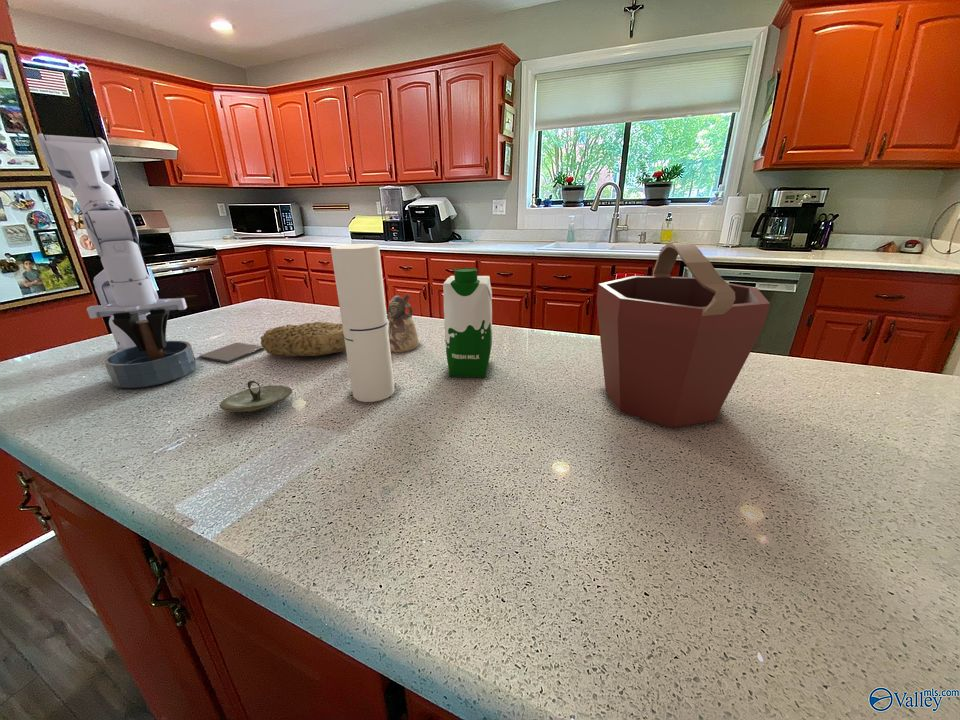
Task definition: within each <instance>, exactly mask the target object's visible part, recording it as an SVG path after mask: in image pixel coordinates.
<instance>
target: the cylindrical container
mask: <svg viewBox="0 0 960 720" xmlns="http://www.w3.org/2000/svg"><path fill="white" fill-rule="evenodd" d="M330 255H331V259H332V266H333V273H334V281H335V286H336V292H337V300H338V306H339V312H340V319H341V324H342V326H343V333H344V339H345V346H346V350H345V352H346V358H347V359H346V360H347V364H348V365H347V366H348V371H349V379H350V385H351V391H352V392H351V393H352V397H353V398H354V399H355V400H357V401H358V402H364V403H373V402H380V401H383V400H386V399H388V398H390V397H391V396H392V395H393V394H394V393H395V382H394V380H395V379H394V372H393V362H392V354H391V352H392V351H390V343H389V333H388V327H389V323H388V319H387V314H386V313H387V308H386V297H385V287H384V286H385V285H384V278H383V269H382V260H381V251H380V244H378V243H377V244H376V243H347V244H345V243H344V244H336V245H331V246H330Z"/></svg>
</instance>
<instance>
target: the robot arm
mask: <svg viewBox="0 0 960 720" xmlns="http://www.w3.org/2000/svg"><path fill="white" fill-rule="evenodd" d="M36 140H37V142H38V145H39V148H40V151H41V153H42V155H43V158H44V160H45V163H46V166H47V168H48V169H49V171H50V173H51V176H52V178H53V179H54V180H55V182H56V184H58V185H59V186H63V187H65V188H68V189H70V190H71V192H72V193H73V195H74V196H75V198H76V200H77V203H78V206H79V208H80V211H81V212H82V214H81V220H82V223H83V225H84V228H85V231H86V233H87V236H88V238H89V240H90V242H91V243H92V245H93V247H94V249H95V252H96V254H97V256H98V257H100V262H101V265H102V267H103V269H102V270H101V271H100V272H98V274H96V275H95V276H94V277H93V281H92V282H93V285H94V290H95V292H96V295H97V297H98V298H97V299H98V300H99V305H91V306H88V307H87V308H86V312H87V315H88V316H89V319H90V320H91V319H92V320H93V319H98V318H104V317H105V318H106V317H109V320H108V325H109V328H110V331H111V334H112V336H113V338H114V342H115V344H116V346H117V347H116V348H114V349H113V352H118V351H120V350H123V349H127V348H130V347H134V346H137V348H138V349H139V351H140V352H141V351H145V348H144V345H143V342H142V340H141V337H140V334H139V331H138V328H137V326H136V322H137V321H141V320H148V322H149V324H150V326H151V328H152V330H153V332H154V335H155V338H156V342H157V345H158V347H159V349H164V348H165V347H166V346H167V345H166V341H167V335H166V334H167V324H168V319H169V315H170V311H176V310H178V311H184V310H186V309H187V308H188V305H187V302H186V298H185V297H178V298H177V297H176V298H159V295H158V292H157V291H158V290H157V289H156V287H155V284H154V283H153V281H152V278H151V276H150V274H148V272H147V268H146V264H145V262H144V259H143V256H142V253H141V250H140V247H139V243H140V239H139V238H140V237H139V232H138V229H137V226H136V222H135V220H134V218H133V216H132V214H131V213H130V211H129V209H128V208H126V206H123V204H122V202H121V200H120V198H119V196H118V194H117V192H116V190H115V189H114V188H113V187H112V186H114V185H116V181H115V180H116V174H115V166H114V165H115V164H114V162H113V158H112V154H111V152H110V149H109V146H108V144H107V142H106V140H104V139H103V138H102V137H100V136H99V137H86V136H85V137H84V136H70V135H69V136H68V135H54V134H43V133H38V135H37V136H36ZM134 239H135V241H136V242H135V241H134Z"/></svg>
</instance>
